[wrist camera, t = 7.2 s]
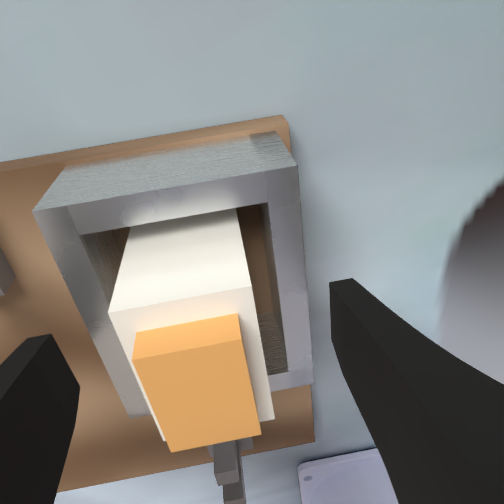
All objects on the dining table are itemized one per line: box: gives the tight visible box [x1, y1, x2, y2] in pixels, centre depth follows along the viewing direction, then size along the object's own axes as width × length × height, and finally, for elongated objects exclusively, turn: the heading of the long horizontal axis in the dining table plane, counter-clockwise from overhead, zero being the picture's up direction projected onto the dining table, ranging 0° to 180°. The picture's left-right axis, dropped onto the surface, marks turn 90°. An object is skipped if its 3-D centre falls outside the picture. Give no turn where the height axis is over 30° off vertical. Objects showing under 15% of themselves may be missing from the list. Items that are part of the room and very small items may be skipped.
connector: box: [108, 208, 275, 453], centre depth 11 cm, size 4×3×6 cm, turn 8°
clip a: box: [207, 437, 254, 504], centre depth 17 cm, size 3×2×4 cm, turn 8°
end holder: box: [32, 130, 314, 419], centre depth 13 cm, size 8×6×3 cm
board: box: [0, 115, 315, 493], centre depth 16 cm, size 16×14×1 cm
